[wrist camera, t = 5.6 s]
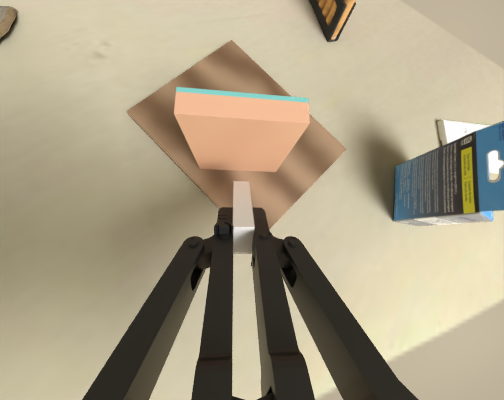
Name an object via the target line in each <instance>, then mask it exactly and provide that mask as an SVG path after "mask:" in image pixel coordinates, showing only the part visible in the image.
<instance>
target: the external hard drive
mask: <svg viewBox="0 0 504 400" xmlns="http://www.w3.org/2000/svg"><path fill="white" fill-rule="evenodd" d="M437 125H438V131H439V137H440V141H441V143H442V146H443V145H445V144H448V143H450V142H452V141H454V140H457V139H459V138H461V137H463V136H465V135H468V134H470V133H472V132H474V131H477V130H480V129H482V128H485V127H488V126H491V125H483V124H475V123H466V122H458V121H449V120H440V121H438V122H437ZM488 157H489V170H490V173H499V168H500V167H501V166H502V165H503V163H504V162H503V161H500V160H498V152H497V151H492V152H490V153H489V155H488Z"/></svg>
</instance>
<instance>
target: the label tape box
mask: <svg viewBox="0 0 504 400" xmlns="http://www.w3.org/2000/svg"><path fill="white" fill-rule="evenodd" d="M492 151H497V152H498V160H500V161H503V162H504V121H502V122H499V123H497V124H494V125H491V126H488V127H485V128H482V129H480V130H477V131H474V132H472V133H470V134H468V135H465V136H463V137H461V138H459V139H457V140H454V141H452V142H450V143H448V144H445V145H443V146H441V147H439V148H436V149H434V150H432V151H429V152H427V153H425V154H423V155H420V156H418V157H416V158H413V159H411V160H409V161H406V162H404V163H402V164H400V165H397V166H396V176H395V204H394V222H399V223H405V224H410V225H415V226H429V225H444V224H459V223H474V222H490V221H493V211H501V210H504V163H503V165H502V166H501V167H500V168H499V176H498V178H497V179H496V180H490V170H489V157H488V155H489V153H490V152H492Z"/></svg>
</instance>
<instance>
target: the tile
mask: <svg viewBox="0 0 504 400" xmlns="http://www.w3.org/2000/svg"><path fill="white" fill-rule="evenodd" d="M174 115H175V117H176V119H177V121H178V124H179V126H180V128H181V130H182V132H183V134H184V136H185V138H186V140H187V143H188V145H189V147H190V149H191V151H192V153H193V155H194V157H195V160H196V162H197V164H198V166H199V168H200V169H214V170H239V171H263V172H276V171H277V170H278V168H279V167H280V165H281V164H282V163H283V161H284V160H285V158H286V157H287V155H288V154H289V153H290V151H291V150H292V148H293V147H294V145H295V144H296V142H297V141H298V140H299V138H300V137H301V135H302V134H303V132H304V131H305V130H306V128H307V127H308V125H309V124H310V118H309V103H308V98H300V97H288V96H277V95H265V94H253V93H242V92H230V91H219V90H207V89H195V88H184V87H176V97H175V107H174Z"/></svg>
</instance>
